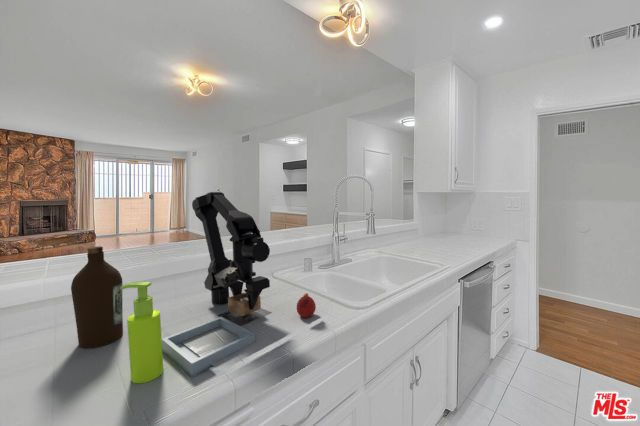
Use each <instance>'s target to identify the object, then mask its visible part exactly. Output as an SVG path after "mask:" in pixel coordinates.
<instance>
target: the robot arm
mask: <svg viewBox="0 0 640 426" xmlns="http://www.w3.org/2000/svg"><path fill="white" fill-rule="evenodd" d="M191 206H192V210H193V211H194V213H195V214H194V215H195V217H196V218H198V220H200V222H202V227H203V231H204V232H203V233H204V236H205V240H206V245H207V249H208V253H209V259H210V263H209V266H208V267H207V276H206V277H205V280H204V281H203V283H204V288H205V289H206V290H208V291H210V293H211V294H210V295H211V297H210V298H211V304H213V305H220V306H223V305H226V304H227V305H228V298H229V297H230V292H231V294H232V296H235V295H238V294H241V293H243V291H244V292H246V293H247V294H248V301H249V307H250V310H252V309H254V306H255V304H256V302H257V300H258V297H259V296H260V295H261V293H262V292H263V290H265V289H269V288H270V287H271V284H270V283H271V282H270V279H269V278H268V277H265V276H262V275H259V276H257V274H256V272H255V271H254V269H253V267H254V266H253V264H255V263H262V262H265V261H266V260H267V259H268V258H269V256H270V252H271V251H270V250H271V249H270V246H269V244H267V242H265V241H264V237H262V235H261V231H260V229H259V228H258V226H257V222H256V221H255V219H254V218H253V217H252V216H251V215H250V214H248V213H246V212H243V211H240V210H239V209H238V208H236V207H235V206H234V204H233V203H232V202H231V201H230V200H229V199H228V198H227V197H226V196H225V194H224V193H223V192H222V191H210V192H207V193H205V194H203V195H201V196H200V195H199V196H196V197H195V198H194V199H193V200H192V203H191ZM218 214H220V216H221V217H222V218H223V219H224V220H225V222H226V225H225V228H226V230H228V232H229V234H230V235H231V237H230V238H229V242H232V259H228V257H226V255H225V250H224V246H223V242H222V241H223V240H222V237H221V232H220V230H219V224H218V221H217V220H218V219H217V217H218ZM244 284H245V289H243V288H244Z"/></svg>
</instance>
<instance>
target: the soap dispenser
mask: <svg viewBox="0 0 640 426" xmlns="http://www.w3.org/2000/svg"><path fill="white" fill-rule="evenodd" d="M150 286H152V281H135V282H129V283H126V284H124V285H123V284H122V287H120V288H121V289H122V290H124V289H130V288H131V289H132V288H133V289H134V288H137V297H136V298H134V299H133V301H132V302H133V313H132V314H130V315H129V316H127V317H126V321H127V338H128V350H129V352H128V353H129V365H130V367H129V368H130V381H131V382H132V383H133V384H145V383H148V382H151V381H154V380H155V379H157V378H159V377H160V376H161V375H162V373H164V361H163V360H164V359H163V351H162V339H163V338H162V326H161V325H162V324H161V322H162V321H161V311H160V310H159V309H154V303H153V302H154V301H153V296H151V295H148V288H149V287H150Z"/></svg>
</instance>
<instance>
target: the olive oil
mask: <svg viewBox="0 0 640 426" xmlns="http://www.w3.org/2000/svg"><path fill="white" fill-rule="evenodd" d="M103 249H104V247H103V246H102V245H99V246H98V245H97V246H91V247H87V249H86V250H87V253H86V255H87V257H86V258H87V263H86V264H85V265H84V266H83V267H82V268H81V269H80V271H78V272H77V273H76V274H75V276H74V277H73V278H72V281H71V285H70V289H71V290H70V292H71V298H72V305H73V310H74V318H75V325H76V333H77V342H78V343H77V344H78V346H79V348H83V349H94V348H99V347H103V346H107V345H109V344H111V343H114V342H115V341H117V340H119V339H120V338H121V337H122V336H123V334H124V324H123V323H124V322H123V320H124V319H123V317H124V316H123V312H124V311H123V289H121V288H120V287H122V286H123V277H122V275H121V272H120V271H119V270H118V269H117V268H115V267H114V266H113V265H111V264H110V263H109V262H107V261H106V260H105V254H104V253H105V251H103Z"/></svg>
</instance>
